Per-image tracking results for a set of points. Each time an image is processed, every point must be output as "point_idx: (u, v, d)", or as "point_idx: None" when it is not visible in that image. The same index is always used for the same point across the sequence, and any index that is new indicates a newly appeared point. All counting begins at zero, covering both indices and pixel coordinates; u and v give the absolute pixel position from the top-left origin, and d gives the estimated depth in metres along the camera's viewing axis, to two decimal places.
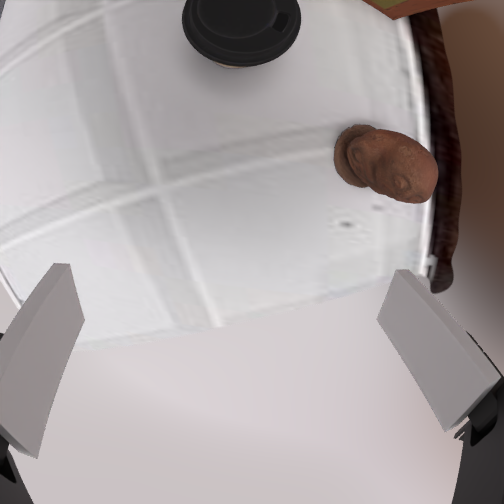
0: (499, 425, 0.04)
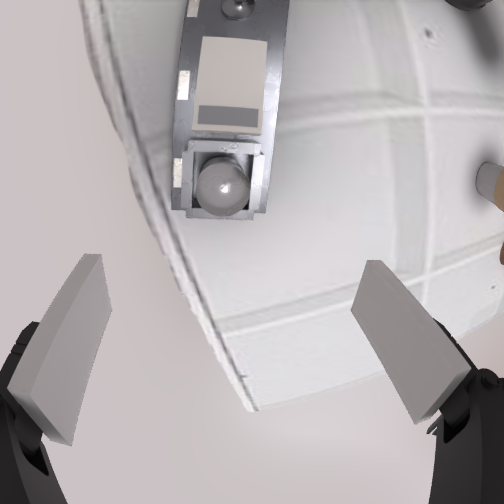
0: (472, 422, 0.05)
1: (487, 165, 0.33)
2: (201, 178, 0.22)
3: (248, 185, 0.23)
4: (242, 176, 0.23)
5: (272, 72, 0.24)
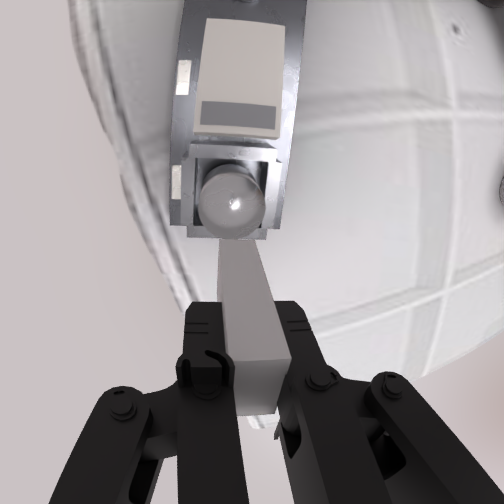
0: (305, 441, 0.05)
1: None
2: (204, 193, 0.18)
3: (263, 202, 0.19)
4: (256, 190, 0.18)
5: (290, 63, 0.20)
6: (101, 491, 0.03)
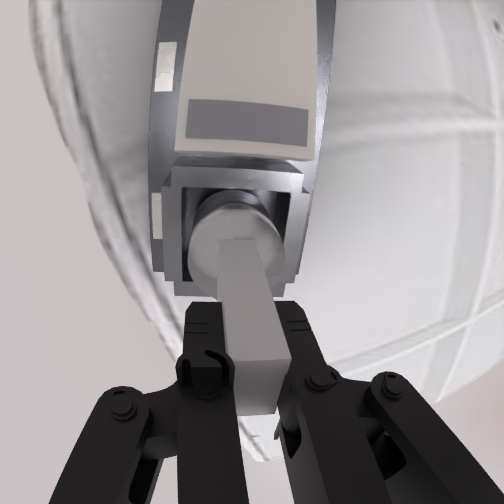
0: (305, 441, 0.05)
1: None
2: (196, 241, 0.12)
3: (282, 252, 0.13)
4: (272, 236, 0.13)
5: (317, 48, 0.13)
6: (101, 491, 0.03)
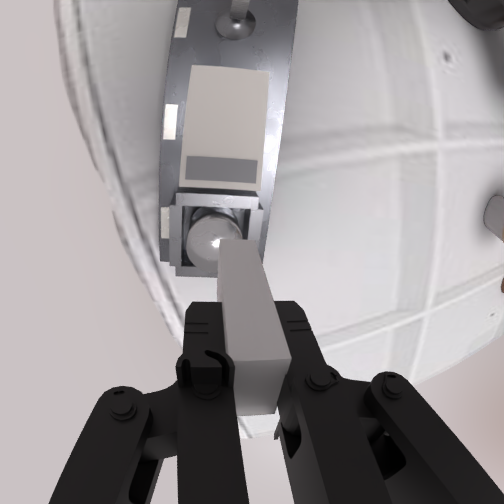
0: (305, 441, 0.05)
1: (497, 199, 0.31)
2: (191, 234, 0.21)
3: None
4: (235, 232, 0.22)
5: (274, 106, 0.22)
6: (101, 491, 0.03)
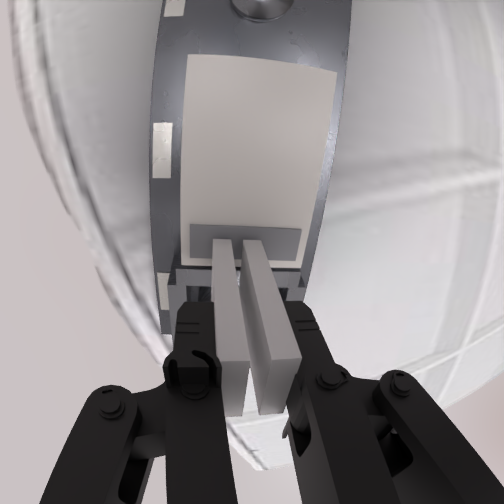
0: (315, 439, 0.05)
1: None
2: None
3: None
4: None
5: None
6: (90, 489, 0.03)
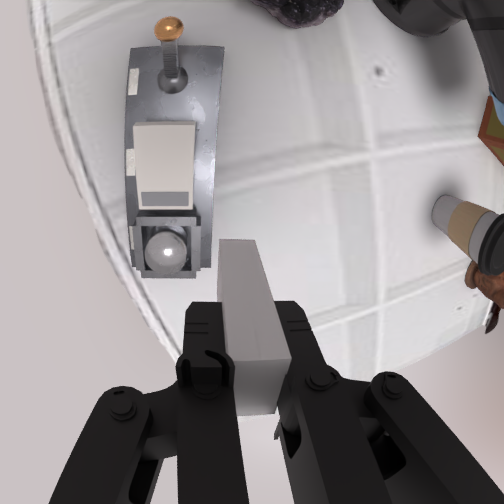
0: (305, 441, 0.05)
1: (444, 199, 0.38)
2: (147, 247, 0.28)
3: (183, 251, 0.29)
4: (178, 244, 0.29)
5: (207, 143, 0.29)
6: (101, 491, 0.03)
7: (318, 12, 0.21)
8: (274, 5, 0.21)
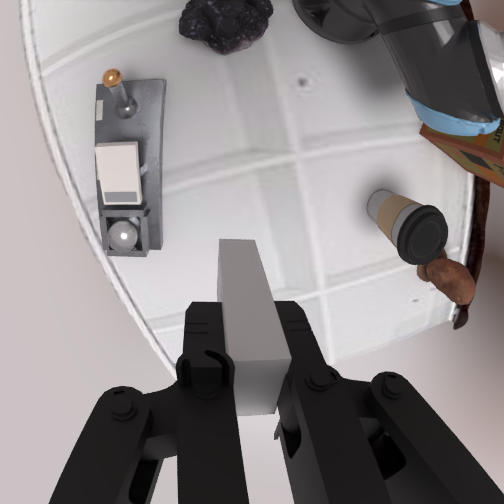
0: (305, 441, 0.05)
1: (378, 193, 0.46)
2: (108, 232, 0.37)
3: (133, 235, 0.38)
4: (129, 230, 0.37)
5: (153, 154, 0.37)
6: (101, 491, 0.03)
7: (236, 41, 0.29)
8: None
